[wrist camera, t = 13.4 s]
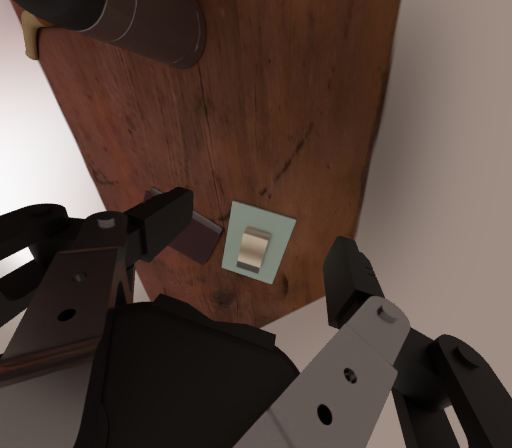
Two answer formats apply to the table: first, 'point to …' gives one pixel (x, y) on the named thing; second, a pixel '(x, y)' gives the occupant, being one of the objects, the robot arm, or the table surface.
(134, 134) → the table surface
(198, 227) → the book
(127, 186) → the table surface
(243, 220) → the rubber mat
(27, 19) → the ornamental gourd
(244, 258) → the cream rectangular block
